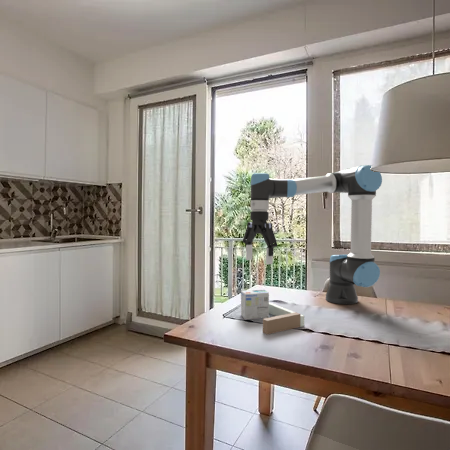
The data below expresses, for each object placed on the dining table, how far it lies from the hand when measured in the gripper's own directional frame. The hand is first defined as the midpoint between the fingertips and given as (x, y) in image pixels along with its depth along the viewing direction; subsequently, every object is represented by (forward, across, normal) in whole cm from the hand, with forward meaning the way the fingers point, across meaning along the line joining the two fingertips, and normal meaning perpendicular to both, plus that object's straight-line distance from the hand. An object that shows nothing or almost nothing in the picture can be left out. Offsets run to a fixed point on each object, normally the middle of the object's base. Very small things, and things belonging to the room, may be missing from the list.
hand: (258, 261), depth 137 cm
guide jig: (+23, +6, -1) cm, 24 cm away
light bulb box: (+24, -1, -1) cm, 24 cm away
